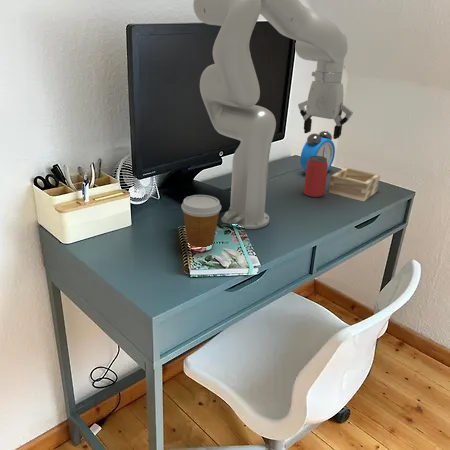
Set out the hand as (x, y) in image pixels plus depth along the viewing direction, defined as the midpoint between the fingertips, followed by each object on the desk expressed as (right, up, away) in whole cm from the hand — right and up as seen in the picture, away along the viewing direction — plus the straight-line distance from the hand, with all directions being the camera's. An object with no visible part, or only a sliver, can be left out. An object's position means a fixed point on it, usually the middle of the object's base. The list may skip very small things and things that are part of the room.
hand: (321, 135), depth 152 cm
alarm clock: (+3, -9, +27) cm, 29 cm away
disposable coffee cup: (-36, -33, -30) cm, 57 cm away
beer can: (-1, -18, +8) cm, 19 cm away
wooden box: (+13, -17, +12) cm, 24 cm away
